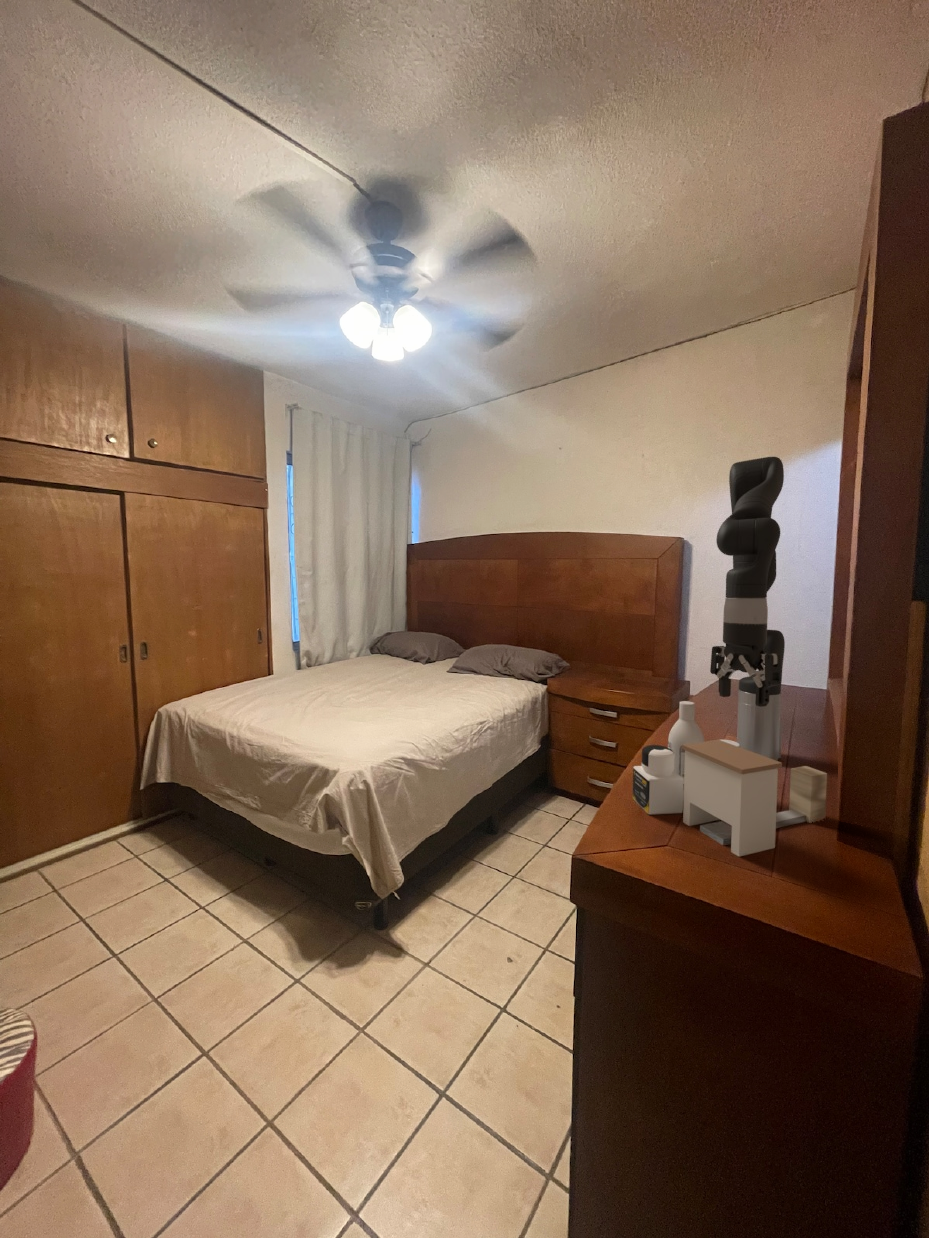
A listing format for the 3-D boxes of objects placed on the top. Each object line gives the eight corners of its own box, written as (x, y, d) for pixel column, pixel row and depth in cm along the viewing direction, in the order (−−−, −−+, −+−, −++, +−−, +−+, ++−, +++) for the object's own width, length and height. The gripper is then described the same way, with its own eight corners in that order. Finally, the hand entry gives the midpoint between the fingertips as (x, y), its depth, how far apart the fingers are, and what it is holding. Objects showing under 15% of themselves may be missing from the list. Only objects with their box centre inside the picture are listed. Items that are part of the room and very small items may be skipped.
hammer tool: (803, 810, 92) (805, 765, 92) (824, 819, 89) (827, 773, 88) (742, 823, 87) (743, 776, 87) (761, 834, 84) (763, 785, 83)
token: (721, 829, 86) (721, 821, 86) (745, 842, 82) (745, 834, 82) (699, 833, 85) (700, 825, 85) (722, 847, 80) (723, 839, 80)
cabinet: (716, 814, 91) (718, 739, 90) (778, 848, 79) (782, 762, 78) (679, 821, 88) (681, 744, 87) (739, 858, 76) (742, 769, 75)
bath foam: (710, 798, 98) (713, 704, 96) (687, 805, 95) (690, 708, 93) (682, 786, 104) (684, 697, 103) (659, 792, 101) (661, 700, 100)
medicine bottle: (631, 798, 98) (633, 742, 97) (664, 797, 98) (666, 741, 98) (648, 815, 91) (649, 754, 90) (683, 813, 91) (684, 753, 91)
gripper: (793, 622, 87) (790, 708, 88) (730, 618, 101) (727, 692, 102) (762, 623, 85) (759, 711, 86) (701, 618, 99) (699, 694, 100)
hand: (742, 701), depth 94 cm, fingers open, 8 cm apart
